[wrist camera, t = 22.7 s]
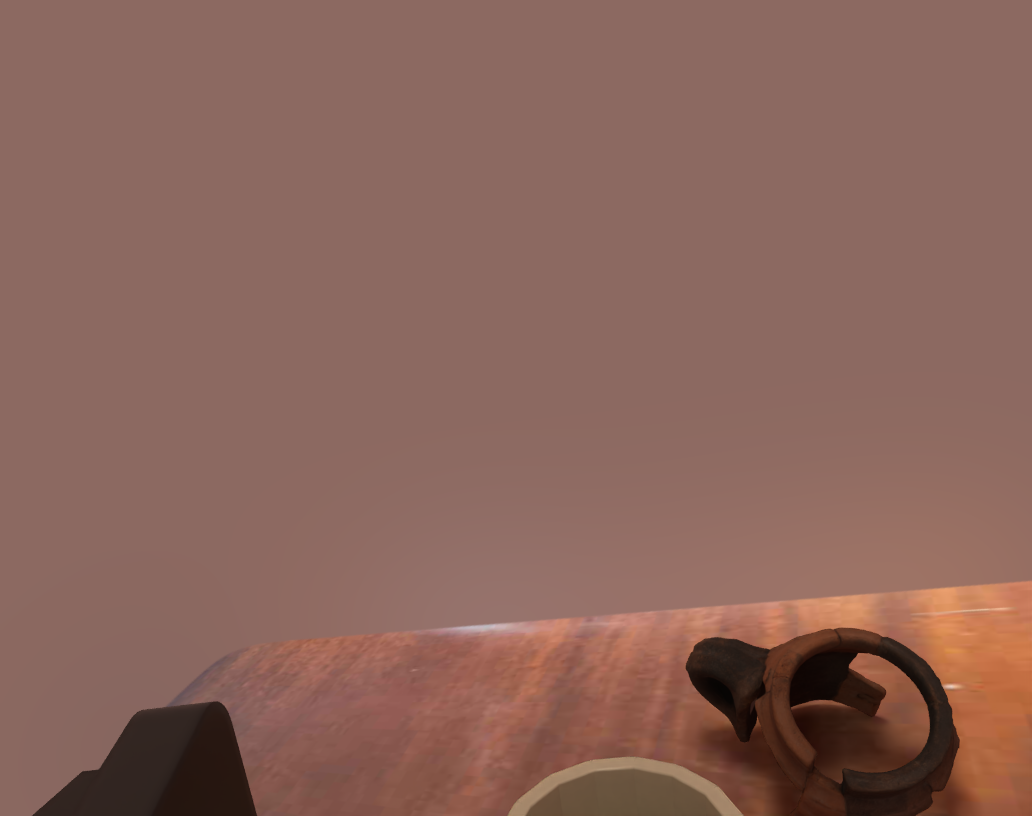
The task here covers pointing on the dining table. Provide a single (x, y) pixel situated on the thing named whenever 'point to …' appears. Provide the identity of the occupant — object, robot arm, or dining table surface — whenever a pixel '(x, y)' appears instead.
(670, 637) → the dining table surface
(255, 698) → the dining table surface
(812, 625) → the dining table surface
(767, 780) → the dining table surface
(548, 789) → the cup
